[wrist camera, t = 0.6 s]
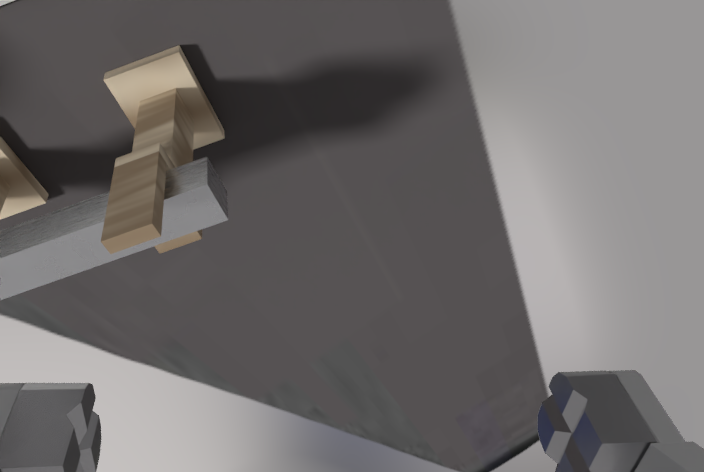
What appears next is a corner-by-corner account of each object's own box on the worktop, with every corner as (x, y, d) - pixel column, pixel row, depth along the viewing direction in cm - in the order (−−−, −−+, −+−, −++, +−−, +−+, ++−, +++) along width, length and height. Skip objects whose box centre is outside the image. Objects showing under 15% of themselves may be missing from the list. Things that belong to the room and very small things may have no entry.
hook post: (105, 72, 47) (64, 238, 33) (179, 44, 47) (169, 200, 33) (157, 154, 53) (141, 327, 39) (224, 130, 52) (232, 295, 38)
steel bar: (-133, 278, 41) (-152, 312, 39) (207, 156, 40) (207, 184, 37) (-98, 306, 43) (-115, 340, 41) (227, 191, 42) (228, 219, 39)
